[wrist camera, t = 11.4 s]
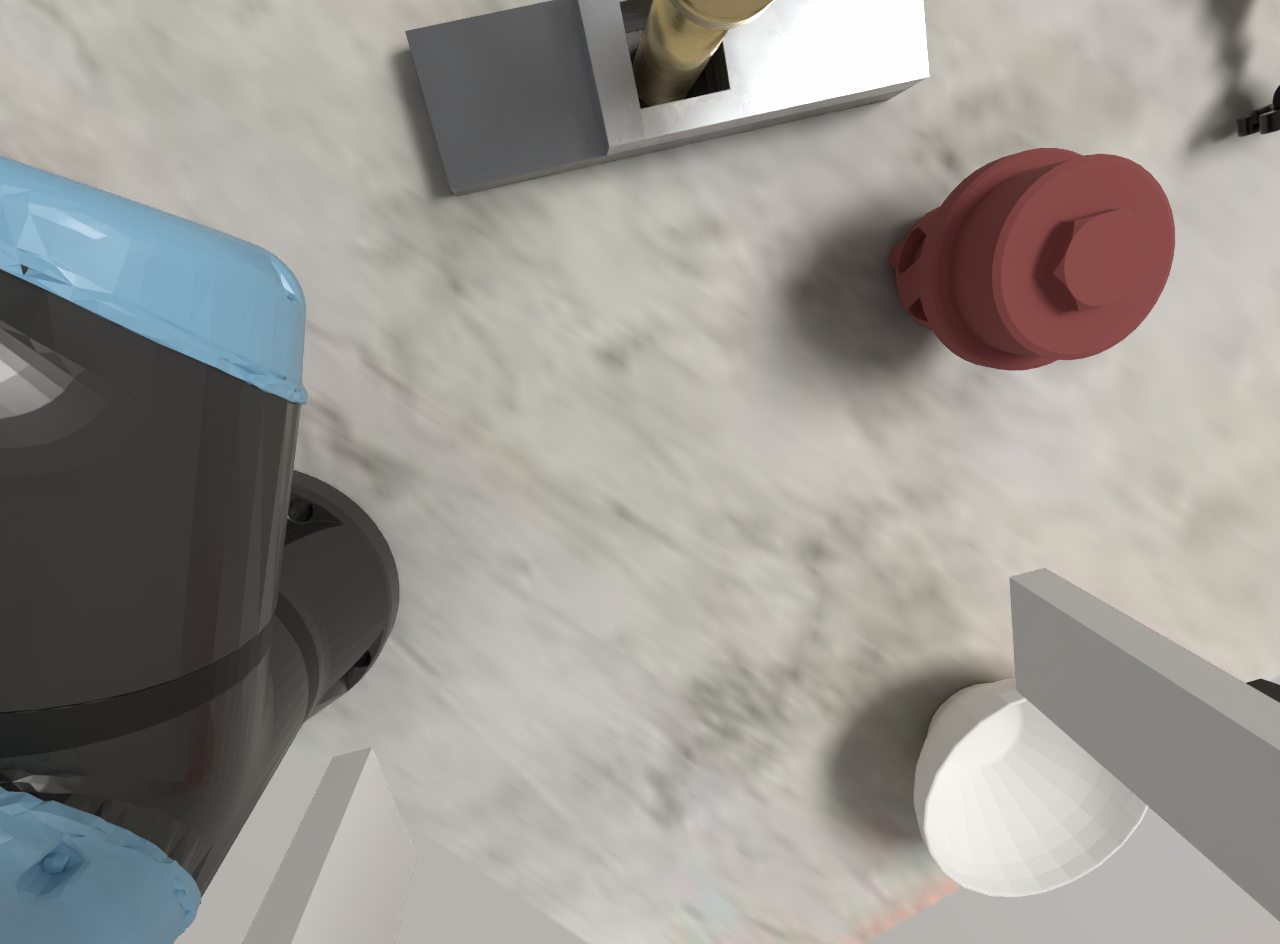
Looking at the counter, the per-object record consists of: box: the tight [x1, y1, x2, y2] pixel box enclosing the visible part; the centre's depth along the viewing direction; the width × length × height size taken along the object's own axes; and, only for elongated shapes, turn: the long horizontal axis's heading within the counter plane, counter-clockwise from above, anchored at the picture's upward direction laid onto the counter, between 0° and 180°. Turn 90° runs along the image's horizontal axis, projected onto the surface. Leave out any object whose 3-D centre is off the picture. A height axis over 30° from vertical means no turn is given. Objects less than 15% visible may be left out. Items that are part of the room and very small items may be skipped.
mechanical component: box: [889, 148, 1175, 370], centre depth 32 cm, size 12×10×10 cm
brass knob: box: [632, 0, 774, 107], centre depth 27 cm, size 5×5×14 cm
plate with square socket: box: [405, 0, 929, 196], centre depth 32 cm, size 24×7×4 cm, turn 103°
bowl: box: [914, 678, 1148, 897], centre depth 44 cm, size 16×16×7 cm
